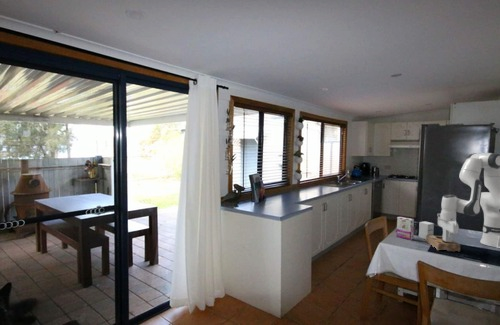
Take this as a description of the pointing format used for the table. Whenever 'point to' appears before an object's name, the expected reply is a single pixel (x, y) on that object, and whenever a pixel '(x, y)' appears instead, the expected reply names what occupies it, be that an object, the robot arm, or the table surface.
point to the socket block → (442, 243)
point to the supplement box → (425, 229)
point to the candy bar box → (405, 228)
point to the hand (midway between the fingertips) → (447, 235)
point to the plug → (446, 236)
